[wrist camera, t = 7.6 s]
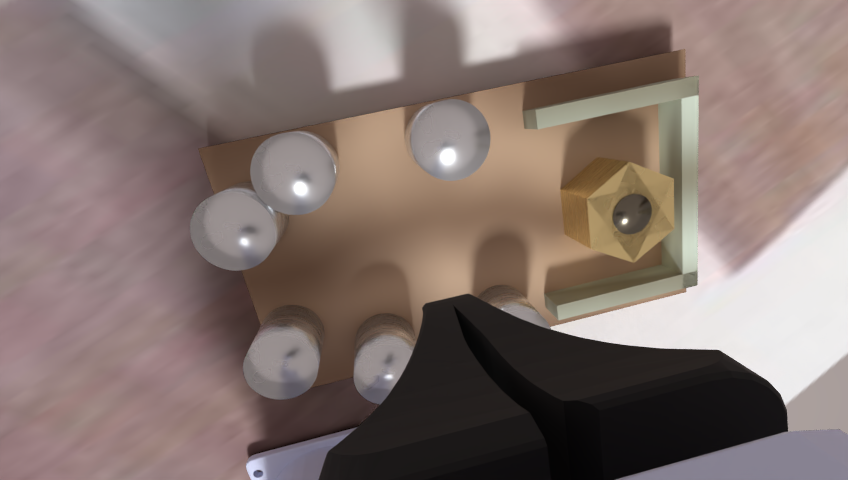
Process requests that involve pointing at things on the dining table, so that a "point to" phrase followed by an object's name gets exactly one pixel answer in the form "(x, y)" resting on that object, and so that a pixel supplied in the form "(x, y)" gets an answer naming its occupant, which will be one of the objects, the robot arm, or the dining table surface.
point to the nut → (618, 208)
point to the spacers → (305, 192)
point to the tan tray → (482, 207)
